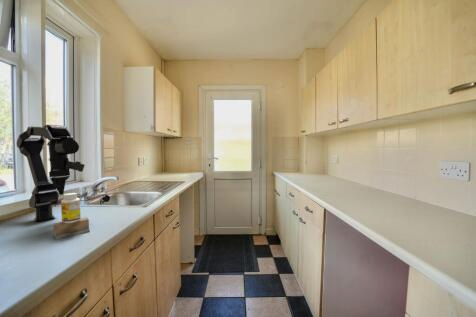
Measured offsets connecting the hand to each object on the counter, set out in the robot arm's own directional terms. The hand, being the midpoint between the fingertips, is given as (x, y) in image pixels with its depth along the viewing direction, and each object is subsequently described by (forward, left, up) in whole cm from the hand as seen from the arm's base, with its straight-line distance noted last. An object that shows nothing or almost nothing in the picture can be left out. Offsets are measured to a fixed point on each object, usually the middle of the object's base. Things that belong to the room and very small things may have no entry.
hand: (61, 193), depth 92 cm
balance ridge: (+14, +1, -13) cm, 19 cm away
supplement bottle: (+14, +1, -9) cm, 17 cm away
